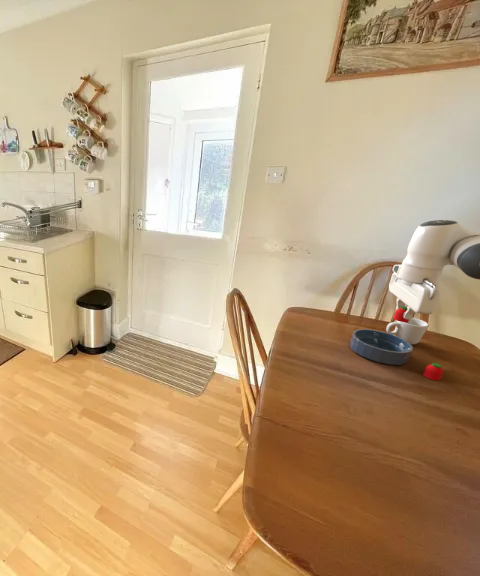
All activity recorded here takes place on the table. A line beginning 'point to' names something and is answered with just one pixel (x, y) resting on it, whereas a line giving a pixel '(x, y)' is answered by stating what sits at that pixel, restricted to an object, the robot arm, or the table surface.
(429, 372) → the strawberry
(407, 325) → the cup
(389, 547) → the table surface
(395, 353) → the bowl
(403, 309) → the strawberry
